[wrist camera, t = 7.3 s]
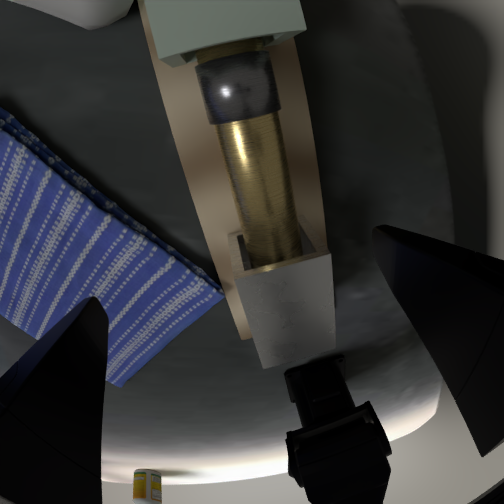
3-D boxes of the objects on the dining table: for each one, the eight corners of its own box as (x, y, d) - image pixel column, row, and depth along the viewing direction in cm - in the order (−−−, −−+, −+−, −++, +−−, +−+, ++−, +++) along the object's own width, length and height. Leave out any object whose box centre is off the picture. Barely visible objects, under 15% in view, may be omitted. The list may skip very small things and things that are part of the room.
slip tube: (299, 248, 20) (316, 280, 17) (247, 262, 20) (255, 296, 17) (247, 0, 12) (258, -21, 9) (181, 14, 12) (175, -4, 9)
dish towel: (-9, 92, 12) (-32, 96, 10) (230, 279, 23) (234, 303, 21) (-57, 253, 17) (-71, 268, 15) (122, 378, 28) (118, 400, 25)
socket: (278, 44, 14) (306, 29, 10) (172, 67, 14) (158, 59, 10) (257, -33, 11) (277, -71, 7) (152, -12, 11) (134, -45, 7)
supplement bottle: (162, 471, 43) (164, 515, 35) (159, 477, 45) (160, 518, 37) (134, 466, 41) (133, 511, 33) (133, 473, 44) (132, 514, 35)
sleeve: (315, 303, 24) (335, 348, 20) (252, 320, 24) (263, 369, 20) (303, 214, 20) (331, 253, 16) (226, 234, 20) (234, 279, 15)
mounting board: (330, 310, 26) (332, 315, 25) (240, 335, 26) (241, 340, 25) (266, -49, 11) (268, -53, 10) (134, -22, 11) (131, -25, 10)
